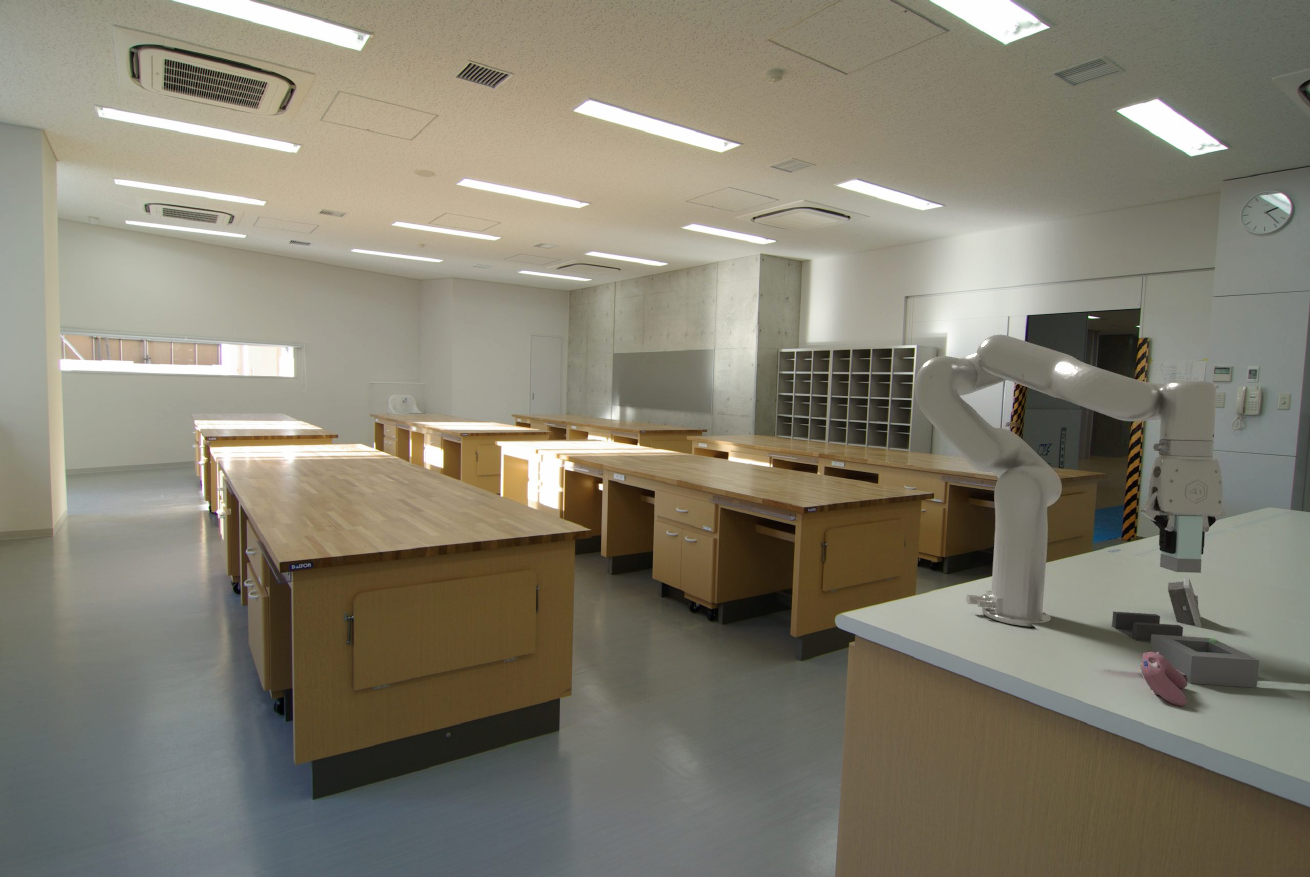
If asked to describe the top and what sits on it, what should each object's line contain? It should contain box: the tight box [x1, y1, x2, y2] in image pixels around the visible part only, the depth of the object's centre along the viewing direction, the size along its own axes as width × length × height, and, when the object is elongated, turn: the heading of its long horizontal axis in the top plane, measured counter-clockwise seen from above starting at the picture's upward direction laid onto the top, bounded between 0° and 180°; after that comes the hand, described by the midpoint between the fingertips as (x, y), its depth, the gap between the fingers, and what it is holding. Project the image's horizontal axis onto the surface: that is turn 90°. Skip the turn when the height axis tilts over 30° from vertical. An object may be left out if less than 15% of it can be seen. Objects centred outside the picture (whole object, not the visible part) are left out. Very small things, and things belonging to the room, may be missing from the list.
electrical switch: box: [1167, 577, 1203, 628], centre depth 138 cm, size 9×5×9 cm, turn 141°
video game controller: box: [1139, 651, 1188, 707], centre depth 103 cm, size 10×5×7 cm, turn 141°
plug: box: [1159, 515, 1203, 574], centre depth 118 cm, size 4×4×10 cm
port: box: [1149, 634, 1260, 689], centre depth 111 cm, size 10×10×5 cm
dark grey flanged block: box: [1111, 611, 1184, 643], centre depth 127 cm, size 8×8×4 cm
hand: (1181, 551), depth 118 cm, fingers closed on plug, 4 cm apart
